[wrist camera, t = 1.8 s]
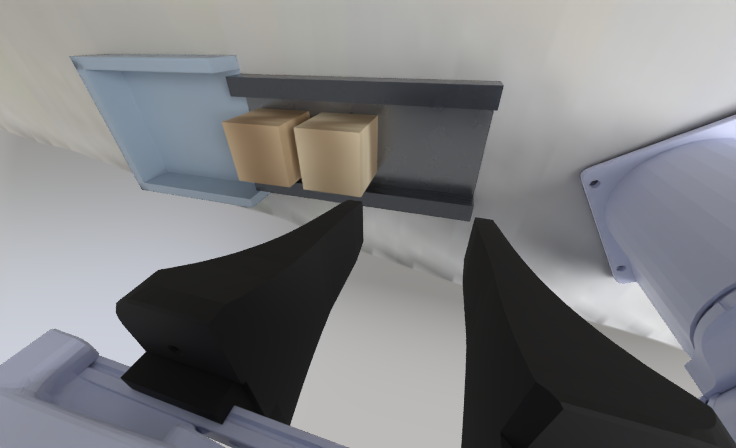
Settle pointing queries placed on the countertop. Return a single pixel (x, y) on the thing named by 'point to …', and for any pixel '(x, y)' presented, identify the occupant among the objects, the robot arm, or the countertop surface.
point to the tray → (172, 121)
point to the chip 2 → (338, 152)
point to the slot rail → (395, 134)
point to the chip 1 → (265, 145)
